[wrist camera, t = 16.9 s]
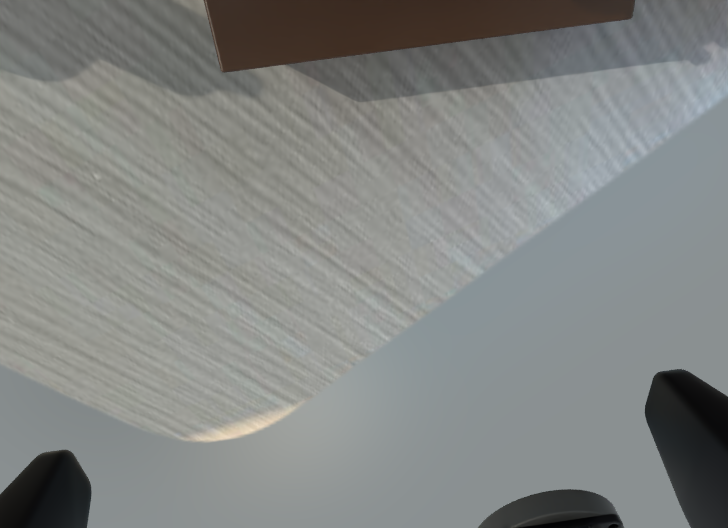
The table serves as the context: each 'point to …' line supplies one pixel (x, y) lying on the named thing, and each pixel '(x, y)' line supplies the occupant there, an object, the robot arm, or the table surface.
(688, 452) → the robot arm
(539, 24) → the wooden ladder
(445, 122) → the table surface
